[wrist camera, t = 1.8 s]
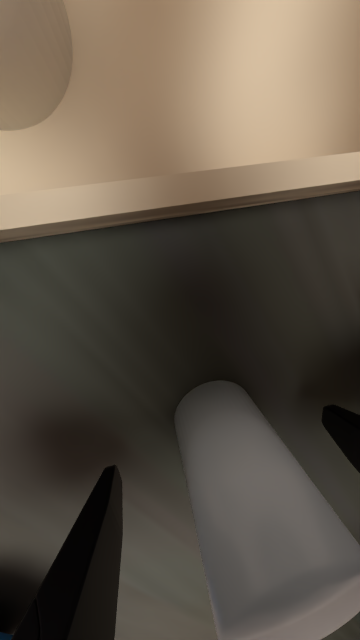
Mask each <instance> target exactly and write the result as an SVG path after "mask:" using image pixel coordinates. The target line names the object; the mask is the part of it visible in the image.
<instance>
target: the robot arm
mask: <svg viewBox="0 0 360 640" xmlns="http://www.w3.org/2000/svg"><path fill="white" fill-rule="evenodd" d="M322 423H323V426H324V427H325V429H326V430H327V431H328V433H329V434H330V435H331V437H332V438H333V440H334V441H335V442H336V444H337V445H338V446H339V448H340V449H341V450H342V452H343V453H344V455H345V456H346V457H347V458H348V460H349V461H350V462H351V464H352V465H353V466H354V467H355V468H356V469H357V471H358V472H359V473H360V415H358V414H356V413H353V412H351V411H348V410H346V409H344V408H341V407H339V406H336V405H328V406H325V407H324V408H323V413H322ZM122 534H123V519H122V480H121V476H120V474H119V471H118V468H117V466H116V465H112V466H108V467H106V468H105V469H104V470H103V472H102V474H101V476H100V478H99V479H98V481H97V483H96V485H95V487H94V489H93V490H92V492H91V494H90V496H89V498H88V500H87V501H86V503H85V505H84V507H83V509H82V511H81V513H80V514H79V516H78V518H77V520H76V522H75V524H74V525H73V527H72V529H71V531H70V533H69V535H68V536H67V538H66V540H65V542H64V544H63V546H62V547H61V549H60V551H59V553H58V555H57V557H56V559H55V560H54V562H53V564H52V566H51V568H50V570H49V571H48V573H47V575H46V577H45V579H44V581H43V582H42V584H41V586H40V588H39V590H38V592H37V593H36V598H34V599H33V601H32V602H31V604H30V606H29V608H28V610H27V612H26V613H25V615H24V617H23V619H22V621H21V623H20V624H19V626H18V628H17V630H16V631H15V633H14V635H13V637H12V639H11V640H114V637H115V624H116V612H117V599H118V587H119V574H120V562H121V549H122Z"/></svg>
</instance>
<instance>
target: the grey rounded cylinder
mask: <svg viewBox="0 0 360 640" xmlns="http://www.w3.org/2000/svg"><path fill="white" fill-rule="evenodd" d="M174 423H175V429H176V434H177V439H178V444H179V448H180V453H181V458H182V463H183V468H184V473H185V478H186V483H187V488H188V493H189V498H190V503H191V508H192V513H193V518H194V523H195V528H196V533H197V538H198V543H199V548H200V553H201V557H202V562H203V567H204V572H205V577H206V582H207V587H208V592H209V597H210V602H211V607H212V612H213V617H214V622H215V627H216V632H217V637H218V640H320V639H322V638H324V637H326V636H327V635H329V634H331V633H332V632H334V631H335V630H337V629H338V628H340V627H341V626H343V625H344V624H345V623H346V622H348V621H349V620H350V619H351V618H353V617H354V616H355V615H356V614H357V613H358V612H359V611H360V546H359V544H358V543H357V541H356V540H355V539H354V537H353V536H352V535H351V533H350V532H349V531H348V529H347V528H346V527H345V525H344V524H343V523H342V521H341V520H340V518H339V517H338V516H337V514H336V513H335V512H334V510H333V509H332V508H331V506H330V505H329V504H328V502H327V501H326V499H325V498H324V497H323V495H322V494H321V493H320V491H319V490H318V489H317V487H316V486H315V485H314V483H313V482H312V481H311V479H310V478H309V476H308V475H307V474H306V472H305V471H304V470H303V468H302V467H301V466H300V464H299V463H298V462H297V460H296V459H295V458H294V456H293V455H292V453H291V452H290V451H289V449H288V448H287V447H286V445H285V444H284V443H283V441H282V440H281V439H280V437H279V436H278V434H277V433H276V432H275V430H274V429H273V428H272V426H271V425H270V424H269V422H268V421H267V420H266V418H265V417H264V416H263V414H262V413H261V411H260V410H259V409H258V407H257V406H256V405H255V403H254V402H253V401H252V399H251V398H250V397H249V395H248V394H247V393H246V391H245V390H244V389H243V388H242V387H241V386H239V385H238V384H236V383H233V382H230V381H222V380H219V381H211V382H207V383H204V384H202V385H199V386H197V387H196V388H194V389H192V390H191V391H190V392H189V393H187V394H186V395H185V396H184V397H183V399H182V400H181V401H180V403H179V405H178V406H177V409H176V411H175V416H174Z"/></svg>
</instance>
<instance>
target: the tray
mask: <svg viewBox="0 0 360 640" xmlns="http://www.w3.org/2000/svg"><path fill="white" fill-rule="evenodd" d="M63 2H64V5H65V9H66V12H67V16H68V20H69V25H70V30H71V36H72V48H73V56H72V69H71V76H70V80H69V84H68V87H67V90H66V92H65V94H64V97H63V99H62V100H61V102H60V104H59V105H58V107H57V108H56V109H55V110H54V111H53V113H52V114H51V115H50V116H48V117H47V118H46V119H45V120H43V121H42V122H40V123H38V124H36V125H34V126H32V127H29V128H26V129H21V130H15V131H2V130H0V243H3V242H10V241H17V240H24V239H31V238H38V237H44V236H51V235H58V234H65V233H72V232H79V231H86V230H92V229H99V228H106V227H113V226H120V225H127V224H133V223H140V222H147V221H154V220H161V219H168V218H175V217H181V216H188V215H195V214H202V213H209V212H216V211H222V210H229V209H236V208H243V207H250V206H257V205H264V204H270V203H277V202H284V201H291V200H298V199H305V198H311V197H318V196H325V195H332V194H339V193H346V192H353V191H359V190H360V0H63Z"/></svg>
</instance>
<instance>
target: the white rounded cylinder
mask: <svg viewBox="0 0 360 640" xmlns="http://www.w3.org/2000/svg"><path fill="white" fill-rule="evenodd" d="M72 56H73V48H72V36H71V30H70V25H69V20H68V16H67V12H66V9H65V5H64V2H63V0H0V130H2V131H15V130H21V129H26V128H29V127H32V126H34V125H36V124H38V123H40V122H42V121H43V120H45V119H46V118H47V117H48V116H50V115H51V114H52V113H53V111H54V110H55V109H56V108H57V107H58V105H59V104H60V102H61V100H62V99H63V97H64V94H65V92H66V90H67V87H68V84H69V80H70V76H71V69H72Z"/></svg>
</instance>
